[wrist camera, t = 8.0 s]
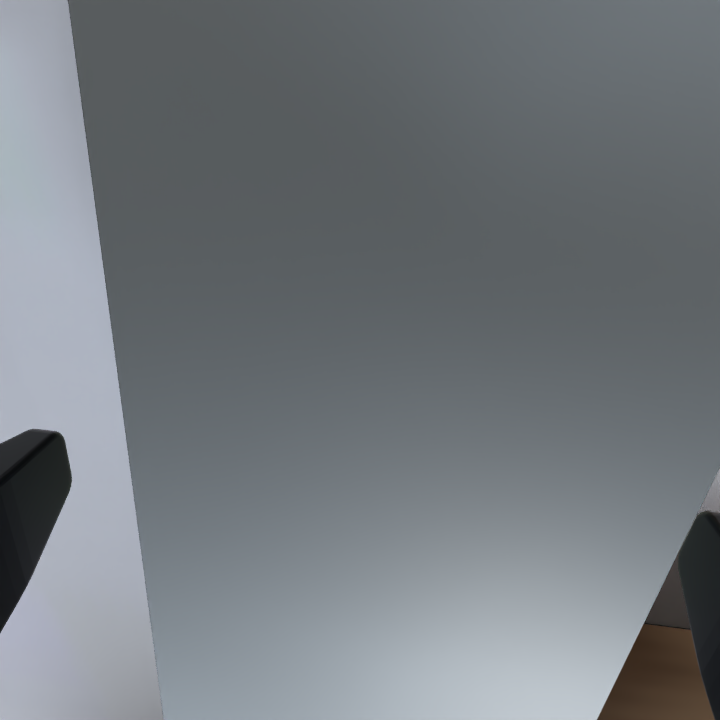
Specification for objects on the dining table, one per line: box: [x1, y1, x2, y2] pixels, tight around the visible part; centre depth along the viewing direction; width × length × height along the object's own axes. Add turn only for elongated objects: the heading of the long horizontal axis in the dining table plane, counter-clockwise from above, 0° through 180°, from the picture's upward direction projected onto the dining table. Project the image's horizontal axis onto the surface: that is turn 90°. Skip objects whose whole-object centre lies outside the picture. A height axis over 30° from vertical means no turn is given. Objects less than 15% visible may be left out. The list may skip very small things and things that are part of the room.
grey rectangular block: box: [68, 0, 720, 720], centre depth 10 cm, size 3×14×10 cm, turn 175°
